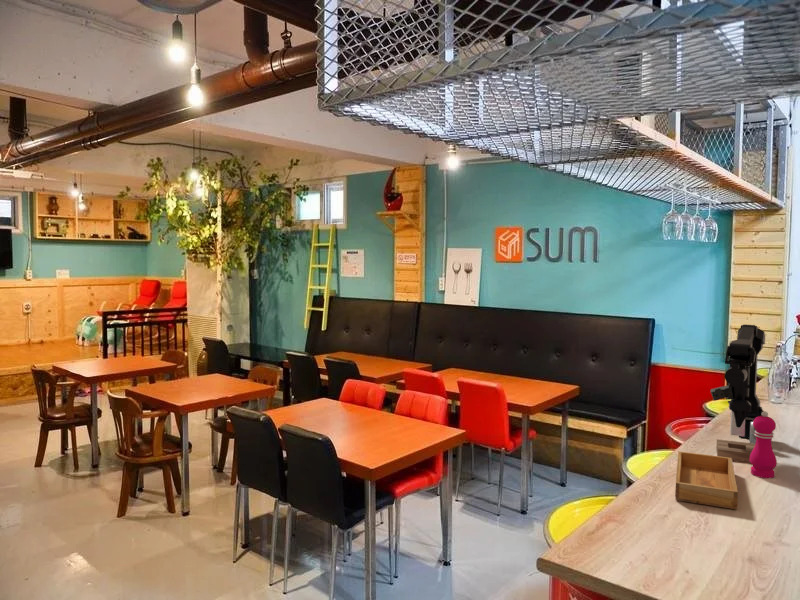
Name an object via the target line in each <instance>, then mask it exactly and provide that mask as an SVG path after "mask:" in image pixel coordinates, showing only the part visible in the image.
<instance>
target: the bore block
mask: <svg viewBox="0 0 800 600" xmlns="http://www.w3.org/2000/svg"><path fill="white" fill-rule="evenodd" d="M754 447H755V444H754V443H750V442H745V441H744V442H743V441H736V440H727V439H719V438H717V439H716V456H721V457H728V458H732V461H739V462H746V463H750V461H749V459H750V454H751V452H752V450H753V449H754Z"/></svg>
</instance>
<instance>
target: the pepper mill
mask: <svg viewBox="0 0 800 600" xmlns="http://www.w3.org/2000/svg"><path fill="white" fill-rule="evenodd" d="M761 415H762V416H758V417H756V418H755V419H754V421H753V426H754V428H755V429H756V430H755V434H754V435H755V436H756V444H755V447H754V449H753V450H752V452H751V454H750V459H749V461H750V462H749V463H750V464H751V467H750V474H751V475H753V476H755V477H757V478H761V479H773V478H775V474H776V473H775V470H774V469H775V468H776V467H777V465H778V464H777V463H778V462H777V457H776V454H775V452H774V450H773V445H772V439H773V438H774V431H775V430H776V429H777V428H776V427H777V425H776V421H775V420H774V419H773V417H770V416H769V414H768V411H765V410H763V412H762V413H761Z"/></svg>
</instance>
